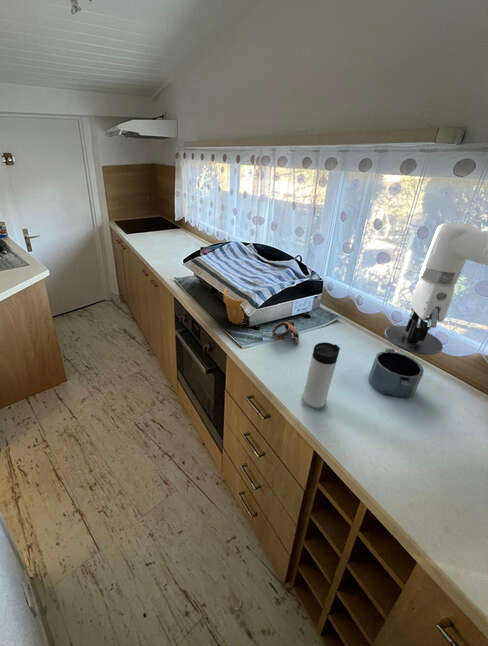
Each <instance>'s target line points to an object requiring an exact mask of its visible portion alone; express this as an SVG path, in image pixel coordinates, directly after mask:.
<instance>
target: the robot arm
mask: <svg viewBox="0 0 488 646" xmlns="http://www.w3.org/2000/svg"><path fill="white" fill-rule="evenodd" d="M467 260H468V261H470V262H473V263H477V264H480V265H484V266H488V226H486V227H484V228H482V229H481V230H478V228H477V227H476V226H474V225H472V224H469V223H463V222H452V221H451V222H450V221H449V222H444V223H443V222H442V223H441V224H440V225H438V226H437V227H436V230H435V232H434V235H433V238H432V240H431V243H430V246H429V247H428V250H427V253H426V255H425V259H424V261H423V264H422V267H421V269H420V272H419V275H418V278H419V279H418V281H417V282H416V285H415V286H414V289H413V291H412V294H411V296H410V300H409V305H410V307H411V312H410V314H409V319H408V322H407V324H406V326H407V327H406V329H405V331H406V332H409V329H410V326H411V324H412V321H413V319H419V320H418V323H417V326H414V329H413V331H412V334H411V336H410V338H411V340H419V341H424V339H425V337H426V335H427V333H429V331H430V330H431V328H433V329H435V328H437V323H438V322H440V323H442V322H444V320H445V319H446V316H447V314H448V311H449V309H450V306H451V303H452V301H453V296H454V292H455V285H456V284H457V281H458V280H459V277H460V275H461V273H462V270H463V268H464V266H465V263H466V262H467ZM423 321H425V322H423ZM422 322H423V323H422Z"/></svg>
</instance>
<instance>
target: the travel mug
mask: <svg viewBox="0 0 488 646" xmlns="http://www.w3.org/2000/svg"><path fill="white" fill-rule="evenodd" d="M340 350H341V348H340V346H338V344H333V343H332V342H318V343H316V344H315V345H314V346H313V350H312V355H311V359H310V364H309V368H308V371H307V375H306V382H305V385H304V390H303V395H302V401H303V403H304V404H305V405H306V406H308V408H309V407H310V408H312V409H317V410H319V409H323V408H324V407H325V406H326V401H327V399H328V394H329V390H330V386H331V383H332V380H333V376H334V373H335V369H336V366H337V362H338V357H339V353H340Z"/></svg>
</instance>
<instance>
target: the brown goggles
mask: <svg viewBox="0 0 488 646" xmlns="http://www.w3.org/2000/svg"><path fill="white" fill-rule="evenodd" d="M282 326H284V328H285V331H284V332H280V333H277V332H276V331H277V330H278V329H279V328H280V327H282ZM271 332H272V338H273V339H275V340H277V341H283V342H285V341H286V338H290V339H292V338H295V342H296V345H299V344H300V336H299V332H298V330H297V328H296V327H295V322H294V320H292V319H290V320H287V321H281V322H279V323H277V324H275V325H274V327H273V329H272V330H271Z"/></svg>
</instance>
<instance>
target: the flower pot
mask: <svg viewBox="0 0 488 646" xmlns="http://www.w3.org/2000/svg"><path fill="white" fill-rule="evenodd" d="M226 290H227V288H225V289H224V290H223V303H224V304H225V307H226V314H227V318H228V321H229V322H230V323H232V324H234V325H246V323H242V322H243V319H244V313H243V311H242V308H241V306H240V304H241V303H242V302H244V300H234V299H231V298H229V297H227V296H226ZM231 321H232V322H231ZM239 323H241V324H239Z"/></svg>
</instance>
